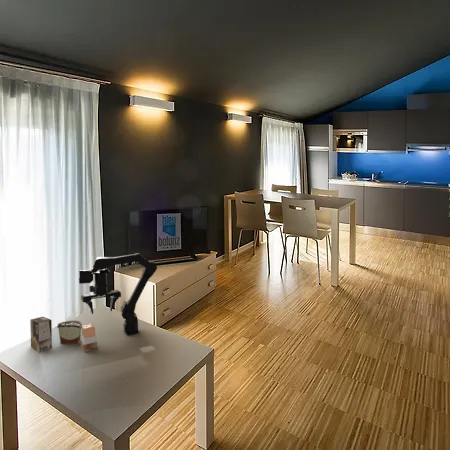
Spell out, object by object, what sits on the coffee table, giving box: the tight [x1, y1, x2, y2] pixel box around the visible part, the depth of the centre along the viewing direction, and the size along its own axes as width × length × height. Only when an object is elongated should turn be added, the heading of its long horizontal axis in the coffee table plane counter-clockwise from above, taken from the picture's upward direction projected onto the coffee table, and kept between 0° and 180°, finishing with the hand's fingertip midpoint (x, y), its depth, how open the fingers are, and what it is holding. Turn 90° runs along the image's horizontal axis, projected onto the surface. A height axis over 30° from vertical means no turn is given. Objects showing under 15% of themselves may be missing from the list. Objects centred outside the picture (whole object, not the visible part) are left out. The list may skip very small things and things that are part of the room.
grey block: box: [80, 334, 98, 345], centre depth 177 cm, size 6×6×3 cm
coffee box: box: [29, 316, 53, 354], centre depth 179 cm, size 9×6×16 cm
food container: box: [57, 320, 83, 346], centre depth 185 cm, size 12×6×10 cm, turn 83°
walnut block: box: [80, 340, 98, 353], centre depth 177 cm, size 6×6×4 cm
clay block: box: [81, 323, 96, 338], centre depth 176 cm, size 5×5×4 cm
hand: (101, 312), depth 190 cm, fingers open, 9 cm apart
